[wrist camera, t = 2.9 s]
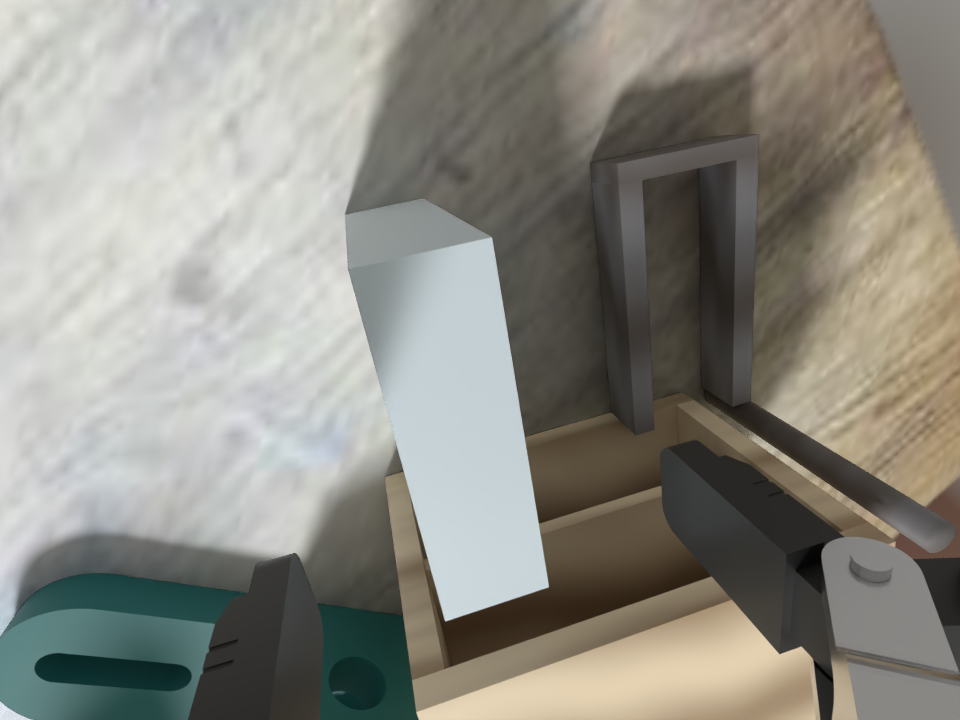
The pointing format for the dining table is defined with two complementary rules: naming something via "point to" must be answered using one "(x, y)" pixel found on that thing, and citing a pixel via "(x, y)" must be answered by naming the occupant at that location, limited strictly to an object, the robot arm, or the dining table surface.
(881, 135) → the dining table surface
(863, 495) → the wooden caddy
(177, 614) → the bracket
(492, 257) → the door
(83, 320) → the dining table surface
